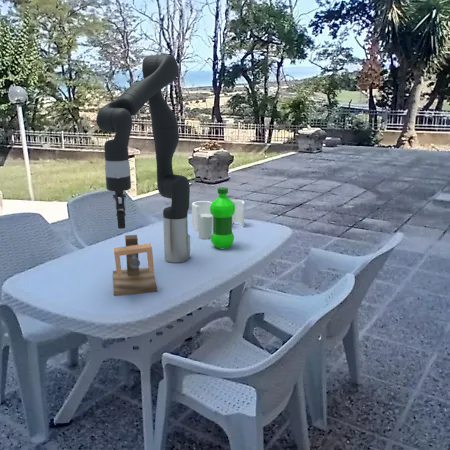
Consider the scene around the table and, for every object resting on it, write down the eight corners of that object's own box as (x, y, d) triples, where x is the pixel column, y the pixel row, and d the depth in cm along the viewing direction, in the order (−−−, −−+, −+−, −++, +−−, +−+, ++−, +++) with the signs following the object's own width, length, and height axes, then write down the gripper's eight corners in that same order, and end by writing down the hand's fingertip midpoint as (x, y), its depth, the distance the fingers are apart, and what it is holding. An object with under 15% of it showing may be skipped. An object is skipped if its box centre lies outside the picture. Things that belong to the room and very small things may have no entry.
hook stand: (113, 274, 171) (110, 234, 167) (152, 271, 174) (150, 232, 170) (114, 302, 149) (111, 257, 145) (159, 298, 152) (157, 254, 148)
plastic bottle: (235, 243, 205) (236, 186, 198) (233, 251, 195) (234, 191, 188) (212, 242, 206) (212, 185, 199) (209, 250, 196) (208, 191, 189)
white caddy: (240, 222, 235) (241, 198, 232) (246, 228, 226) (246, 203, 223) (190, 225, 230) (190, 201, 226) (194, 231, 221) (193, 206, 217)
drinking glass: (210, 240, 209) (210, 218, 206) (196, 239, 210) (195, 217, 207) (214, 235, 215) (214, 214, 212) (199, 234, 216) (199, 213, 214)
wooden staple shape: (153, 266, 161) (150, 243, 159) (154, 271, 157) (151, 247, 155) (116, 271, 159) (113, 247, 156) (117, 276, 155) (114, 252, 152)
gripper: (105, 170, 153) (108, 219, 158) (105, 179, 140) (109, 231, 145) (129, 169, 155) (132, 217, 160) (131, 178, 142) (134, 230, 147)
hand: (121, 224), depth 152 cm, fingers open, 8 cm apart
